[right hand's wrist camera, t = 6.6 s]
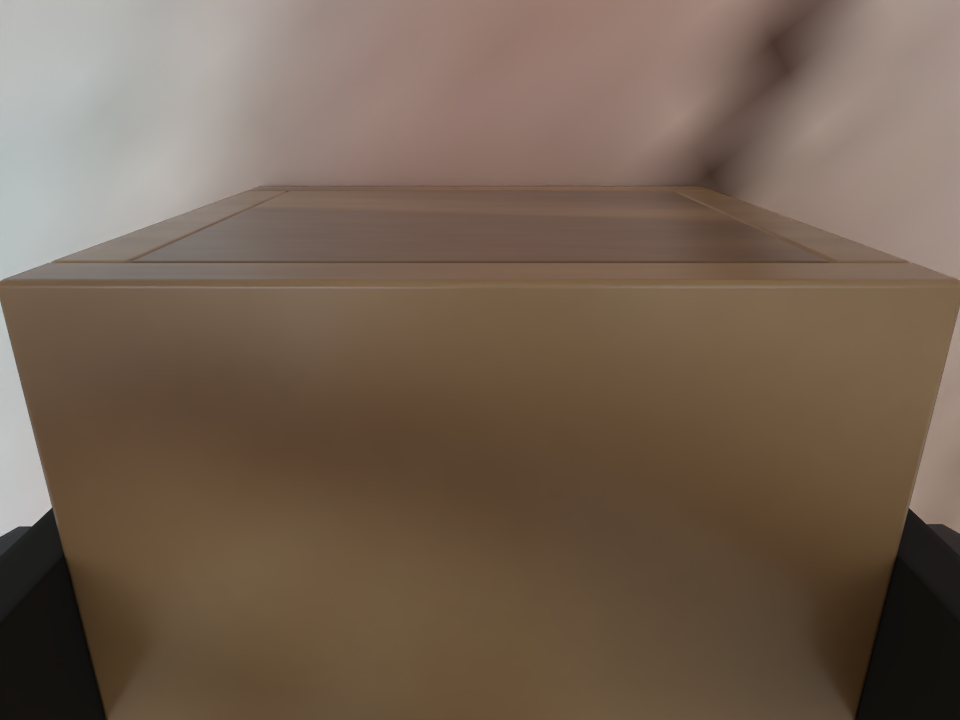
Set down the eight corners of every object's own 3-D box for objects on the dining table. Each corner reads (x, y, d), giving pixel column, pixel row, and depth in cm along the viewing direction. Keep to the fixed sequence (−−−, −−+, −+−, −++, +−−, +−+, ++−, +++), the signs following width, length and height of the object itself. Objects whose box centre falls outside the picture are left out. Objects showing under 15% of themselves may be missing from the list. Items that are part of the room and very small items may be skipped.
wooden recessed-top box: (633, 817, 23) (725, 1243, 14) (327, 817, 23) (235, 1242, 14) (703, 185, 16) (969, 280, 7) (257, 185, 16) (-10, 281, 7)
